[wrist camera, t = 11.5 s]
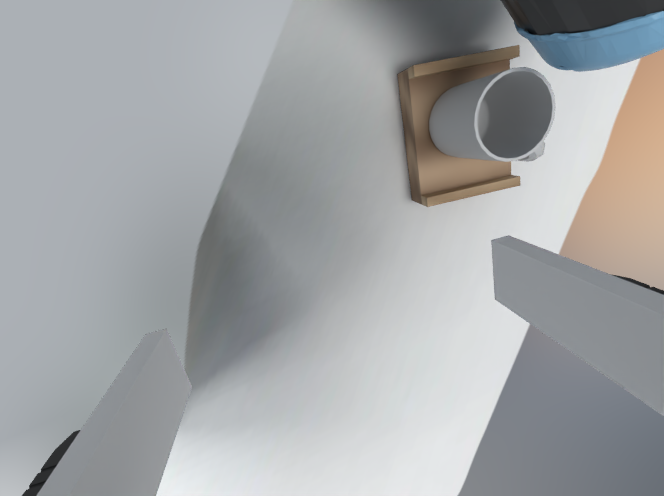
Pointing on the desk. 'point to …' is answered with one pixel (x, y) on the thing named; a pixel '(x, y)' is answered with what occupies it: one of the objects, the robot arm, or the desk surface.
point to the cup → (495, 117)
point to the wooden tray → (422, 155)
